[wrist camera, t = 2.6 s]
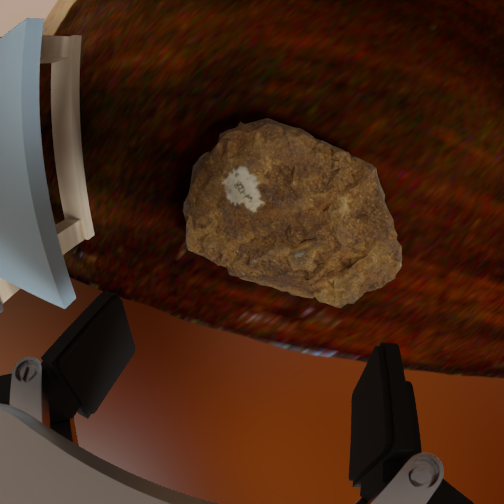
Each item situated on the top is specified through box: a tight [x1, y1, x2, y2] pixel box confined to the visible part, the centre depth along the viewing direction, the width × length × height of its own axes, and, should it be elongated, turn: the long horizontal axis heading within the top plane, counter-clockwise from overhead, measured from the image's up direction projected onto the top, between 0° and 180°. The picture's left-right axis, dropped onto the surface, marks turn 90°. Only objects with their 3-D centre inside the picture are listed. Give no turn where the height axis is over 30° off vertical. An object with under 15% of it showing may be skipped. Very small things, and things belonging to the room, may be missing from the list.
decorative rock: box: [183, 118, 402, 308], centre depth 18 cm, size 11×4×15 cm
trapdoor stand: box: [0, 35, 94, 313], centre depth 15 cm, size 3×20×13 cm, turn 178°
